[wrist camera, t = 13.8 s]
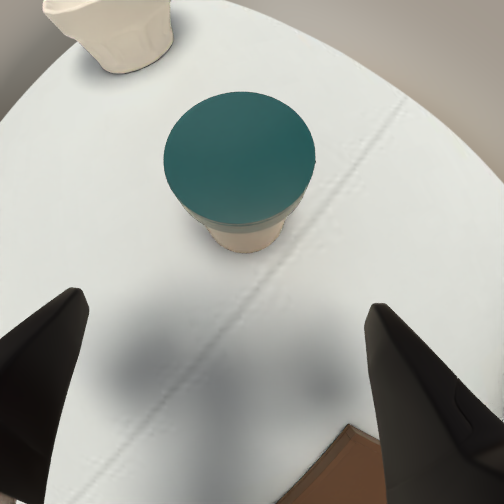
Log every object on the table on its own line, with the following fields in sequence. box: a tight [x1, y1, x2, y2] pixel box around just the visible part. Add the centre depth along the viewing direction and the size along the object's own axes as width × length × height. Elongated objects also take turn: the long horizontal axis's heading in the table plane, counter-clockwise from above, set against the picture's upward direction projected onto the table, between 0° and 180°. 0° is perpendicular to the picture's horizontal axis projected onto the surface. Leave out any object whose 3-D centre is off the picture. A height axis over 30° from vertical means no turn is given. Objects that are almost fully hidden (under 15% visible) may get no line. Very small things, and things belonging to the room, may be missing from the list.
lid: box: [164, 92, 316, 234], centre depth 14 cm, size 7×7×2 cm
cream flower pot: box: [43, 0, 173, 73], centre depth 21 cm, size 12×12×11 cm
